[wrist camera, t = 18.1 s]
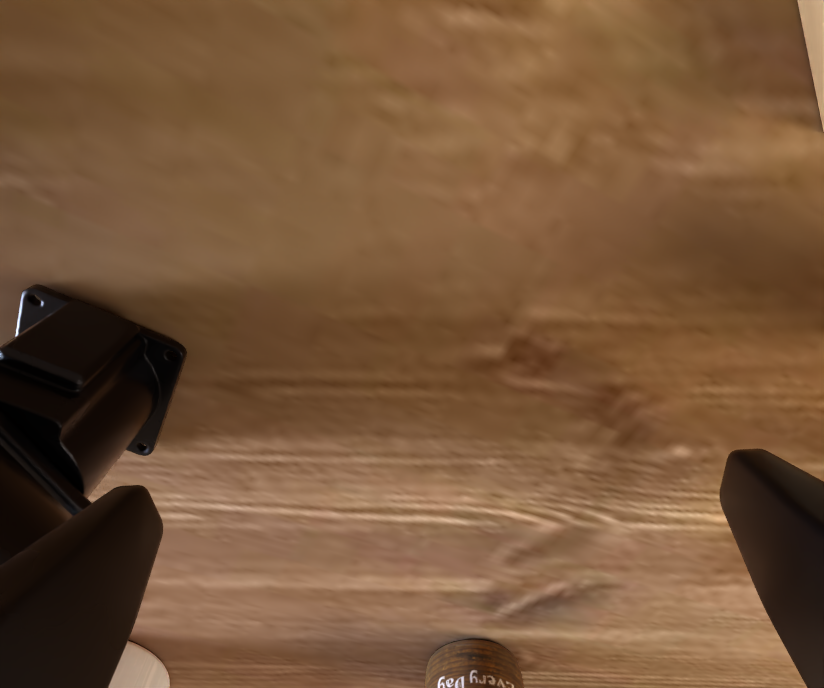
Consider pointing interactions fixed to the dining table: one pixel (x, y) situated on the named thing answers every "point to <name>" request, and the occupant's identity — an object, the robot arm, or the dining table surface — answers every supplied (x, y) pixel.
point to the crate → (815, 44)
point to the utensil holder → (473, 666)
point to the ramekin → (139, 669)
